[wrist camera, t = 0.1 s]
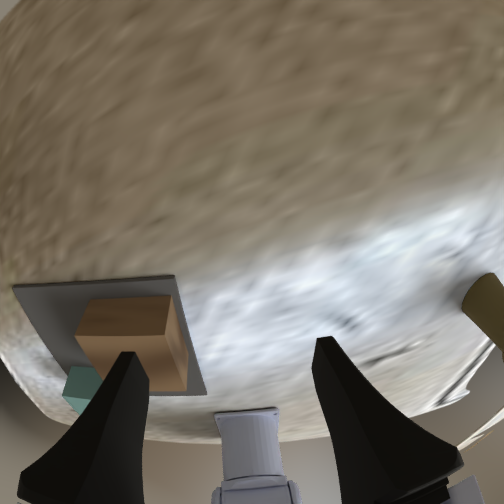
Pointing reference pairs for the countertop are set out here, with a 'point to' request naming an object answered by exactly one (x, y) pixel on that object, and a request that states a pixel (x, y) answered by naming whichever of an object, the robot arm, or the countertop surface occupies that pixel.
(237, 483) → the robot arm
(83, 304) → the mat
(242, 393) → the countertop surface
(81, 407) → the teal block
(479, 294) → the cork
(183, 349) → the walnut block
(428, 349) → the countertop surface
